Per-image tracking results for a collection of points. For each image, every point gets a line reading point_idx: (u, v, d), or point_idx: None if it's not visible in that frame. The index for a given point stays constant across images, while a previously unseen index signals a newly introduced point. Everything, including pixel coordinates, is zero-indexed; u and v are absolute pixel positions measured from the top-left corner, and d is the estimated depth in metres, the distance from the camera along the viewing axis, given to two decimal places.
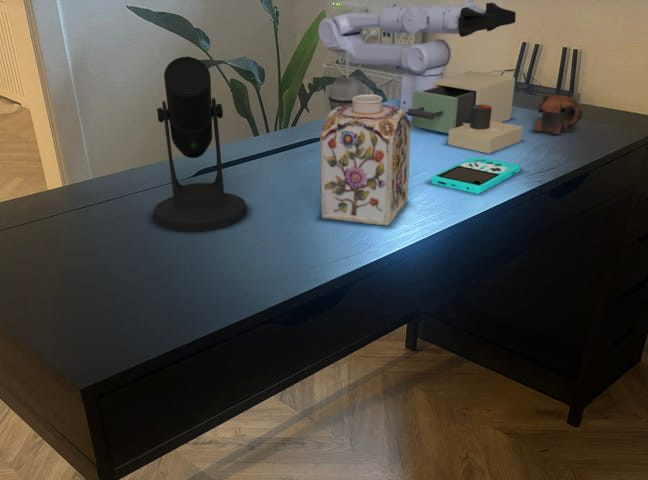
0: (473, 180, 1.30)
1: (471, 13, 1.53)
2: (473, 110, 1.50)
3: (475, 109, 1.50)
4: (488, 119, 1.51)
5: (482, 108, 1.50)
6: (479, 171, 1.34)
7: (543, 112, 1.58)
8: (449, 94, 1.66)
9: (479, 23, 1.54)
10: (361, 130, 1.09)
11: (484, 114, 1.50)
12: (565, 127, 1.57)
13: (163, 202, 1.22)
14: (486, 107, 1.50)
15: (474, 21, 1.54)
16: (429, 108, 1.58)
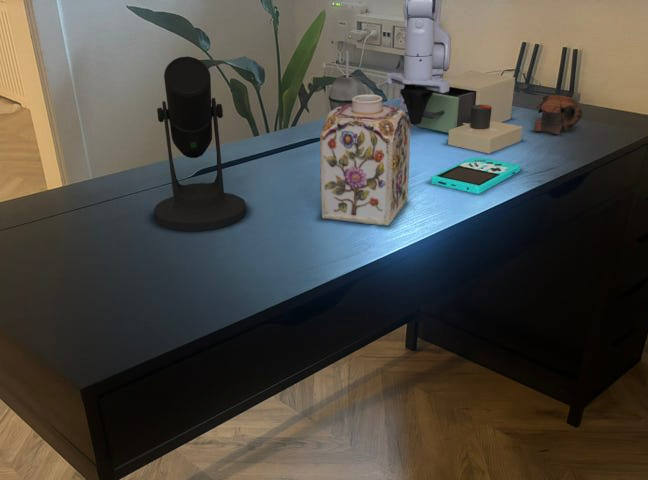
0: (473, 180, 1.30)
1: None
2: (473, 110, 1.50)
3: (475, 109, 1.50)
4: (488, 119, 1.51)
5: (482, 108, 1.50)
6: (479, 171, 1.34)
7: (543, 112, 1.58)
8: (450, 94, 1.67)
9: None
10: (361, 130, 1.09)
11: (484, 114, 1.50)
12: (565, 127, 1.57)
13: (163, 202, 1.22)
14: (486, 107, 1.50)
15: None
16: (430, 108, 1.58)
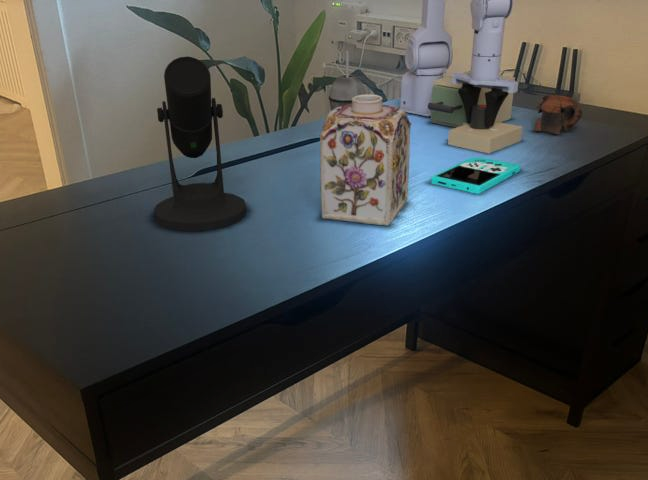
0: (473, 180, 1.30)
1: None
2: (473, 110, 1.50)
3: (475, 109, 1.50)
4: None
5: (482, 108, 1.50)
6: (479, 171, 1.34)
7: (543, 112, 1.58)
8: None
9: None
10: (361, 130, 1.09)
11: (484, 114, 1.50)
12: (565, 127, 1.57)
13: (163, 202, 1.22)
14: None
15: None
16: (449, 103, 1.62)
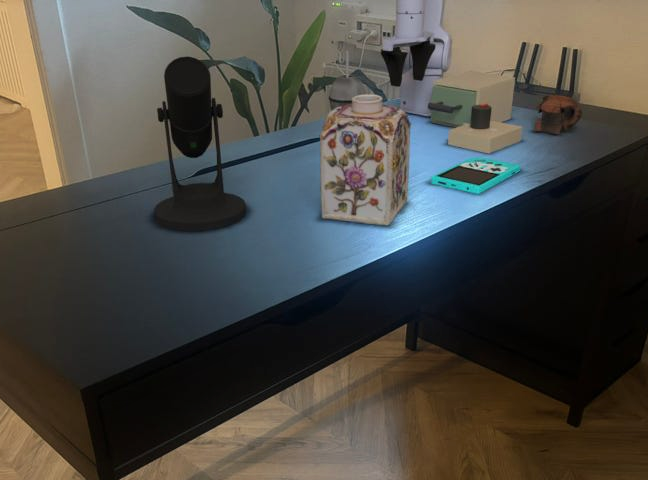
0: (473, 180, 1.30)
1: (398, 64, 1.49)
2: (487, 111, 1.50)
3: (489, 109, 1.50)
4: None
5: (487, 106, 1.51)
6: (479, 171, 1.34)
7: (543, 112, 1.58)
8: None
9: (393, 69, 1.52)
10: (361, 130, 1.09)
11: None
12: (565, 127, 1.57)
13: (163, 202, 1.22)
14: (486, 105, 1.51)
15: (395, 63, 1.51)
16: (449, 103, 1.62)
